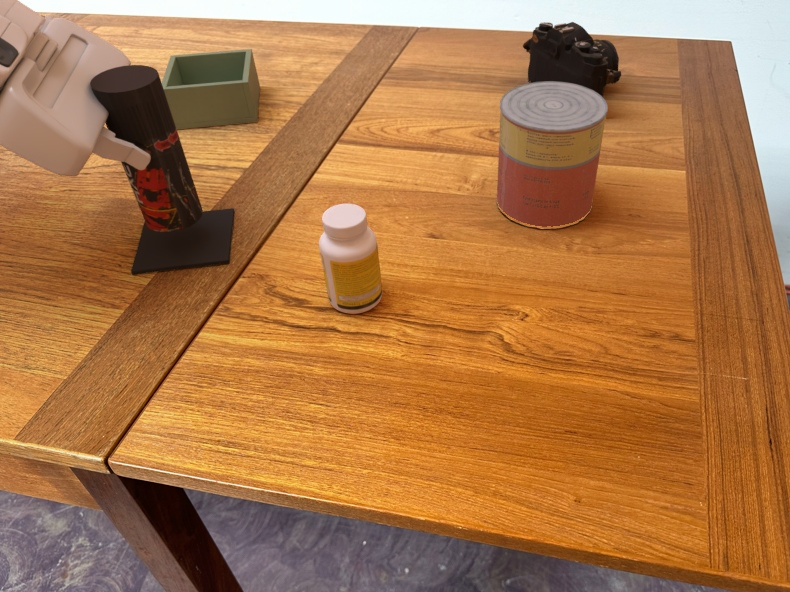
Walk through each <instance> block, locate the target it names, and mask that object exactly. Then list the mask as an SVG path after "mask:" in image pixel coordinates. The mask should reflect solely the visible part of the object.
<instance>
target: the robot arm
mask: <svg viewBox="0 0 790 592" xmlns="http://www.w3.org/2000/svg"><path fill="white" fill-rule="evenodd" d="M128 65H132V62H131V60H130V59H129V57H128V56H127V55H126V54H125V53H124V52H123V51H122V50H121V49H120V48H118V47H116V46H115V45H113V44H111V42H108V41H107V40H106V39H103V38H102V37H100V36H99V35H97V34H95V33H93V32H92V31H90V30H88V29H86V28H85V27H83V26H82V25H80V24H77V23H76V22H73V21H72V20H69V19H67V18H64V17H53V16H51V15H42V14H39V12H36V11H35V10H34V9H32V8H30V7H29V6H28V5H26V4H24V3H23V2H21V1H19V0H0V146H1V147H3V148H4V149H6V150H8V151H10V152H12V153H13V154H14V155H17V156H19V157H21V158H22V159H24V160H26V161H28V162H30V163H33V164H34V165H36V166H38V167H40V168H43V169H44V170H46V171H49V172H50V173H53V174H54V175H55V174H56V175H58V176H63V177H77V176H78V175H79V174H80V173H81V171H82V170H83V168H84V167H85V165H86V164H87V162H88V161H89V159H90V157H91V156H92V154H95V155H96V156H98V157H99V158H101V159H106V160H111V161H115V162H116V161H117V162H120V163H121V162H126V163H128V164H129V165H131V166H133V167H135V168H137V169H138V170H144V169H145V168H146V166H147V165H148V164H149V162H150V160H151V156H152V151H151V149H149V148H148V147H145V146H144V145H143V144H141V143H139V142H138V141H135V143H134V144H132V143H130V142H127V141H124V140H121V139H118V138H115V135H116V134H115V133H113V132H112V131H110V130H108V128H107V127H105V126H106V123H105V122H106V120H107V118H108V115H109V113H108V111H107V110H106V108H105V107H104V106H103V105H102V104H101V103H100V102H99V101H98V99H97V98H96V96H95V95H94V93H93V91H92V88H91V86H90V82H91V80H92V79H93V78H94V77H95V76H96V75H98V74H99V73H101V72H104V71H106V70H109V69H112V68H116V67H121V66H128Z"/></svg>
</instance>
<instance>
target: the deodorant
mask: <svg viewBox="0 0 790 592" xmlns="http://www.w3.org/2000/svg"><path fill="white" fill-rule="evenodd" d="M90 86H91V88H92V91H93V93H94V95H95V96H96V98H97V99H98V101H99V102H100V103H101V104H102V105H103V106H104V107H105V108H106V110H107V111H108V113H109V115H108V118H107V120H106V122H105V126H106V128H107V129H108V130H110V131H112V132H113V133H115V134H116V135H115V138H118V139H121V140H124V141H127V142H130V143H132V144H134V143H135V141H138V142H139V143H141V144H143V145H144V146H145V147H148V148H149V149H151V151H152V156H151V160H150V162H149V164H148V165H147V166H146V168H145V169H144V170H138V169H137V168H135V167H133V166H131V165H129V164H128V163H126V162H121V161H120V163H121V165H122V167H123V170H124V172H125V176H126V178H127V181H128V183H129V185H130V187H131V190H132V193H133V196H134V198H135V200H136V203H137V205H138V208H139V210H140V212H141V215H142V218H143V220H144V221H145V223H146V225H147V226H148V227H149V228H150V229H152V230H154V231H158V232H175V231H179V230H183V229H185V228H188V227H190V226H192V225H193V224H195V223H196V222H197V221H198V220H199V219H200V218H201V216H202V214H203V211H204V210H203V209H204V208H203V207H202V203H201V201H200V200H201V199H200V198H199V194H198V191H197V188H196V186H195V185H196V184H195V181H194V178H193V176H192V172H191V170H190V167H189V164H188V163H189V162H188V160H187V157H186V154H185V151H184V149H183V148H184V147H183V145H182V141H181V139H180V135H179V132H178V130H177V129H176V126H175V123H174V120H173V117H172V114H171V111H170V108H169V105H168V101H167V98H166V95H165V92H164V89H163V86H162V79H161V76H160V74H159V72H158V70H157V69H156V68H155V67H152V66H150V65H142V64H131V65H128V66H121V67H116V68H112V69H109V70H106V71H104V72H101V73H99V74H98V75H96V76H95V77H94V78H93V79H92V80H91V82H90Z"/></svg>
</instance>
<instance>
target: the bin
mask: <svg viewBox="0 0 790 592" xmlns="http://www.w3.org/2000/svg"><path fill="white" fill-rule="evenodd" d="M161 83H162V86H163V89H164V92H165V95H166V98H167V101H168V105H169V108H170V111H171V114H172V117H173V120H174V123H175V126H176V129H177V131H178V130H186V129H187V130H188V129H189V130H190V129H197V128H208V127H218V126H219V127H220V126H230V125H240V124H251V123H258V121H259V120H258V119H259V106H260V94H261V85H260V79H259V76H258V71H257V67H256V62H255V57H254V52H253V49H252V48H246V49H245V48H244V49H233V50H222V51H211V52H210V51H209V52H196V53H186V54H185V53H184V54H172V55H170V56H169V59H168V63H167V65H166V67H165V71H164V75H163V78H162V80H161Z"/></svg>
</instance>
